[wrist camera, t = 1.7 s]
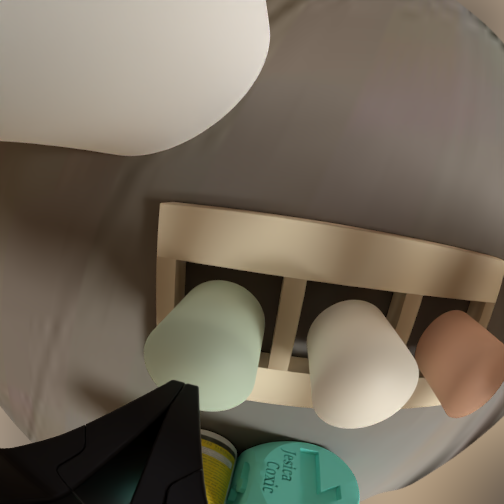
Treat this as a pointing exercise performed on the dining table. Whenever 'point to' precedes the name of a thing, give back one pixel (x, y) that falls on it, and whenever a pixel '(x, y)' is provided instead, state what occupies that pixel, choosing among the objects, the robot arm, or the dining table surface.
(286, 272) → the three-slot wooden rack
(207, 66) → the canister
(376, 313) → the button cream
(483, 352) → the button terracotta
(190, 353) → the button sage
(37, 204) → the dining table surface
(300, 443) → the turquoise rounded piece
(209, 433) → the supplement bottle
